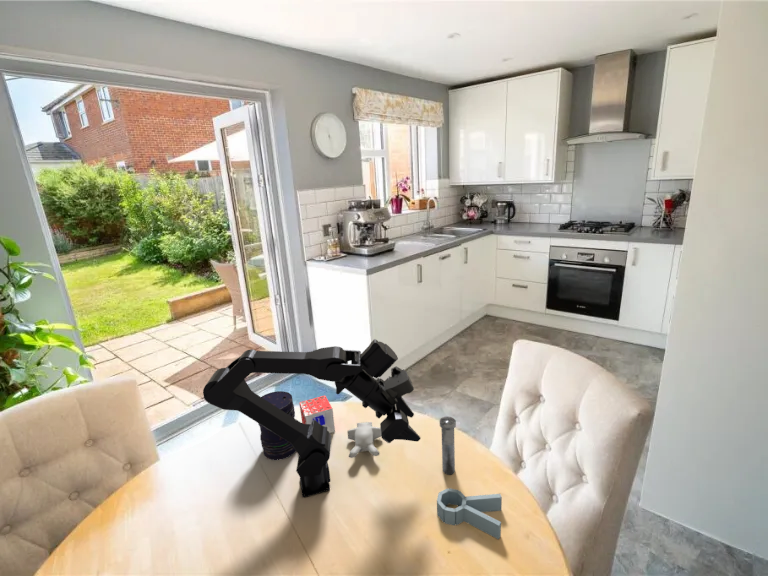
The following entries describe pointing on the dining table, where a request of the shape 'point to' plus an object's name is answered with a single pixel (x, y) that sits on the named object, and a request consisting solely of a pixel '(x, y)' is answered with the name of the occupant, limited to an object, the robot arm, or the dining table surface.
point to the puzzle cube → (318, 412)
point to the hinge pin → (448, 444)
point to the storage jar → (270, 441)
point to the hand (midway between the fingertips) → (415, 427)
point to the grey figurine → (364, 438)
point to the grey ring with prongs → (470, 510)
